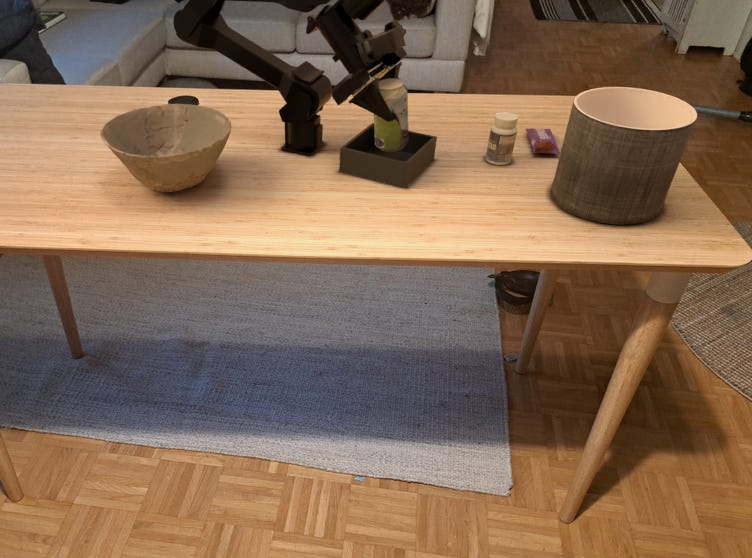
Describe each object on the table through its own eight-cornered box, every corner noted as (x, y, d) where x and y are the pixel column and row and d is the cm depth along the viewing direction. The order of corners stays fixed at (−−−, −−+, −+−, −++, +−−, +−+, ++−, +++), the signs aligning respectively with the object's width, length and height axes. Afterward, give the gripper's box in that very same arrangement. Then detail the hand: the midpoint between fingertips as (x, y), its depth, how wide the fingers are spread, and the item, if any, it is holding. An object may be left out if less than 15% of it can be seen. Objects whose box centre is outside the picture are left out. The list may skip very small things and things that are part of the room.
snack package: (526, 123, 136) (551, 124, 135) (523, 133, 137) (549, 134, 136) (534, 147, 127) (562, 148, 126) (532, 157, 128) (559, 158, 128)
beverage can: (413, 152, 123) (422, 85, 116) (376, 157, 121) (383, 88, 114) (397, 139, 128) (406, 73, 120) (362, 144, 126) (368, 77, 118)
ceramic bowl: (182, 144, 135) (176, 94, 129) (261, 180, 123) (258, 126, 116) (86, 181, 124) (73, 127, 117) (161, 225, 111) (152, 168, 105)
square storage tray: (339, 171, 125) (339, 147, 122) (371, 145, 133) (372, 122, 130) (405, 188, 120) (407, 163, 117) (434, 160, 128) (437, 136, 125)
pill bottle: (481, 155, 129) (489, 111, 124) (506, 154, 130) (515, 110, 124) (489, 166, 126) (497, 121, 120) (514, 164, 126) (524, 120, 120)
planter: (673, 229, 108) (713, 132, 97) (557, 222, 110) (583, 126, 100) (647, 179, 121) (679, 89, 110) (544, 173, 123) (566, 84, 113)
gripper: (352, 20, 105) (410, 106, 108) (402, -6, 117) (453, 71, 120) (307, 65, 113) (362, 143, 116) (358, 36, 125) (407, 107, 128)
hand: (398, 114), depth 120 cm, fingers closed on beverage can, 5 cm apart
